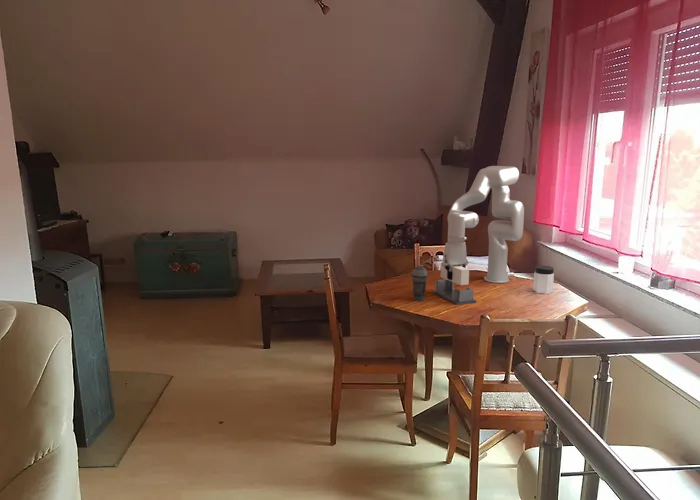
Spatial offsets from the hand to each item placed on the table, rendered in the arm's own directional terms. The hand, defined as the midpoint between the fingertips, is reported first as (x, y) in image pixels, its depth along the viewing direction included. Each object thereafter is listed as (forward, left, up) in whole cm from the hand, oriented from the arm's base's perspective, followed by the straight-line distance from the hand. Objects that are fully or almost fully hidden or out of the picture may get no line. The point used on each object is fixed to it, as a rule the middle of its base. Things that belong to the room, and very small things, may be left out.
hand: (454, 278), depth 243 cm
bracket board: (0, 0, -9) cm, 9 cm away
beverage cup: (+17, -2, -9) cm, 19 cm away
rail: (0, 0, -1) cm, 1 cm away
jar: (-46, +6, -9) cm, 47 cm away
